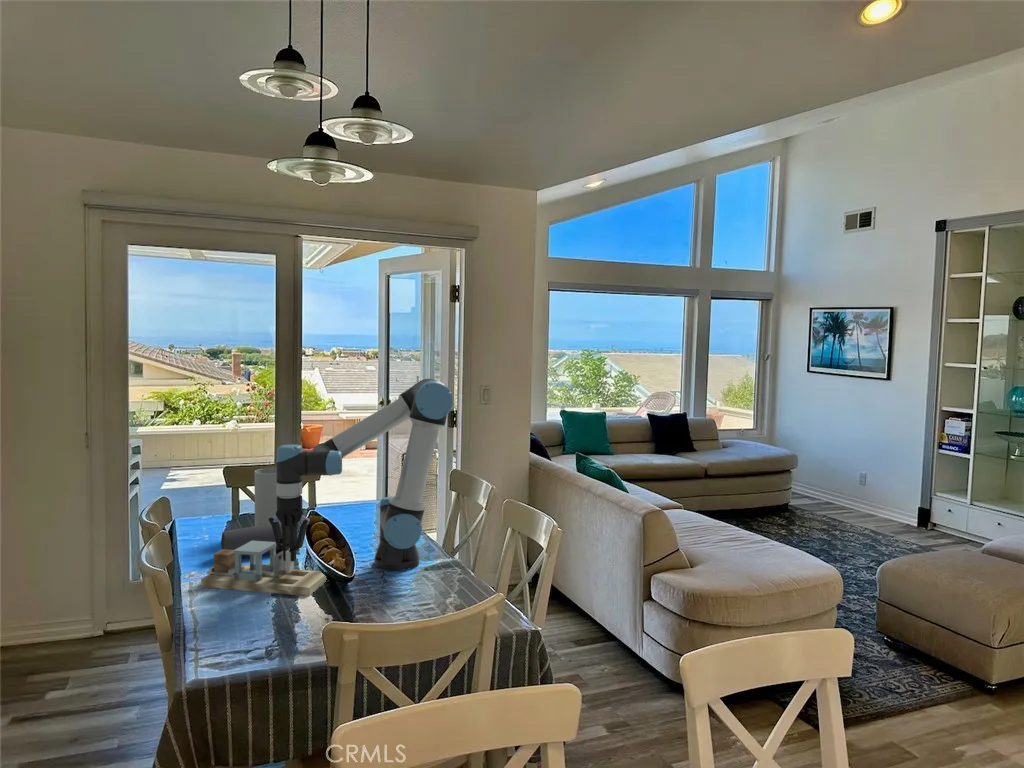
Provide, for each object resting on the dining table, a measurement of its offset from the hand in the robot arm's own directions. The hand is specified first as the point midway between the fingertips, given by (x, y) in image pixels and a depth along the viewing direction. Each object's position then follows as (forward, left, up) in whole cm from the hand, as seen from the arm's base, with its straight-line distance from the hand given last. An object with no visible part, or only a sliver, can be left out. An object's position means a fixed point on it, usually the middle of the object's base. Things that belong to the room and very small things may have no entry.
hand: (289, 570), depth 208 cm
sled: (+14, 0, -2) cm, 14 cm away
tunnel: (+11, 0, -2) cm, 11 cm away
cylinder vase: (+32, -49, -5) cm, 59 cm away
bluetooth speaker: (+25, -26, -5) cm, 37 cm away
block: (+21, 0, -1) cm, 21 cm away
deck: (+8, 0, -5) cm, 9 cm away
